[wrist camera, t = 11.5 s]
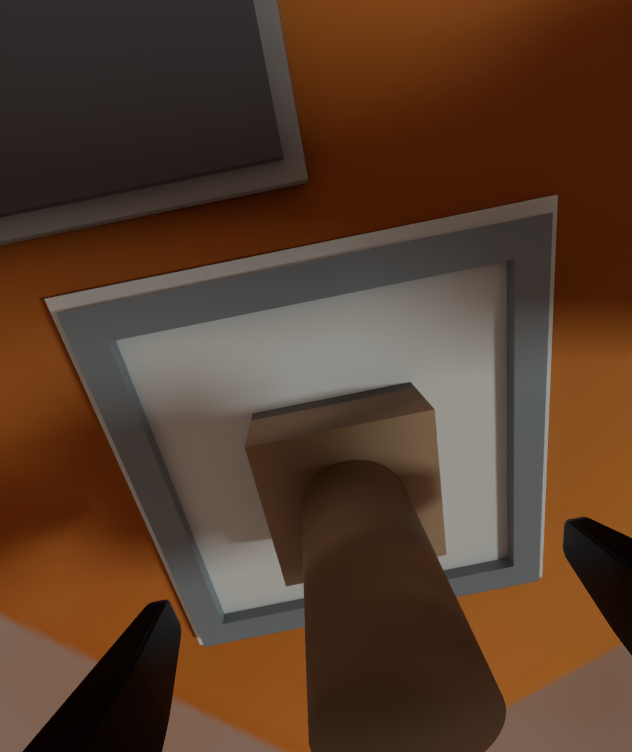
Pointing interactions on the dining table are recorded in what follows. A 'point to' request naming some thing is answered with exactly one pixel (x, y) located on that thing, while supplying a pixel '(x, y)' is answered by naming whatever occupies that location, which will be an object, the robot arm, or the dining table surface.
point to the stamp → (373, 574)
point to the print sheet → (328, 392)
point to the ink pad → (139, 109)
